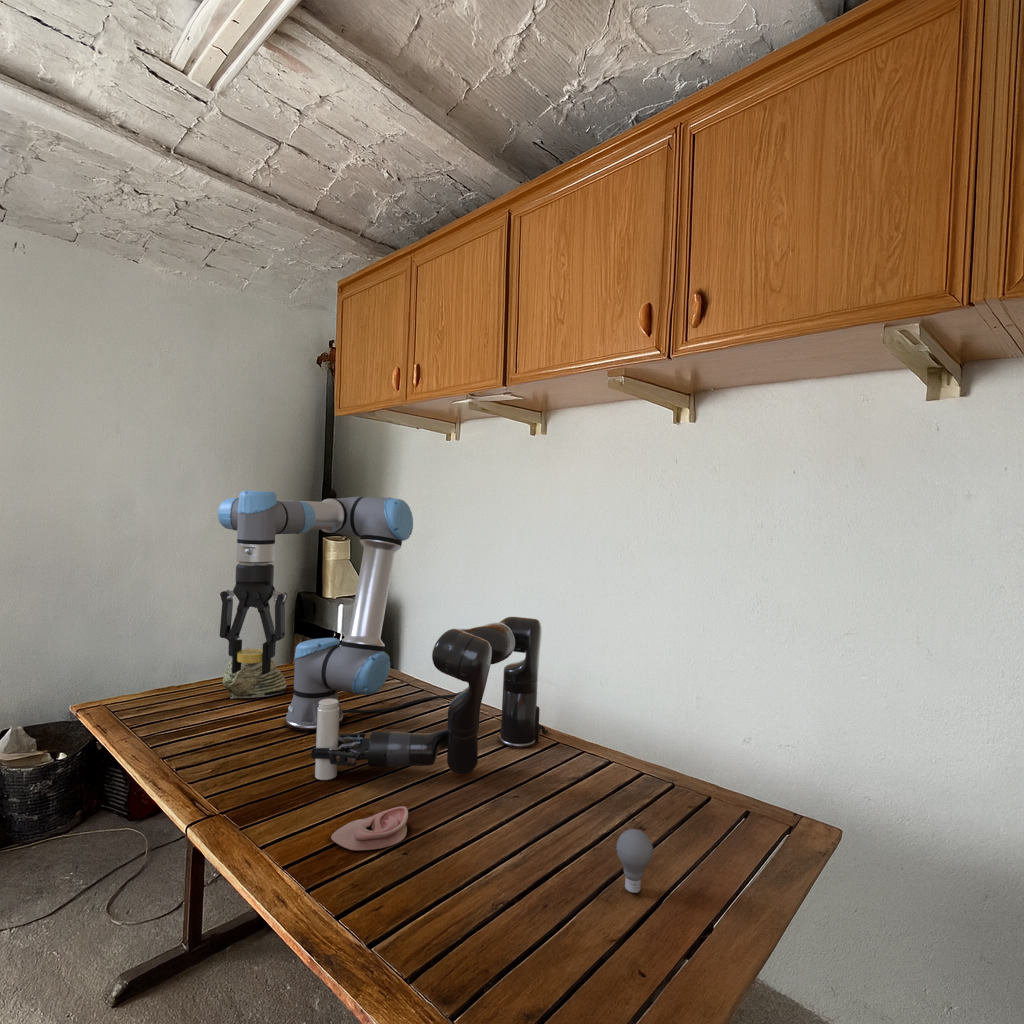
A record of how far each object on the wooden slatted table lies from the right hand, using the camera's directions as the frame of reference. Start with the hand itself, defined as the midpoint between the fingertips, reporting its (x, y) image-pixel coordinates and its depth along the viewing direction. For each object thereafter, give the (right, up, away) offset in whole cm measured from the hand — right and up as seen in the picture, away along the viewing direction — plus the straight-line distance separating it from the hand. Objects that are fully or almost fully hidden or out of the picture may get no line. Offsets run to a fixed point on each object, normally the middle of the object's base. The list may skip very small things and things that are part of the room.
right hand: (315, 748), depth 144 cm
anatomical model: (+18, -7, -24) cm, 31 cm away
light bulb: (+65, -10, -38) cm, 76 cm away
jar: (+2, -6, 0) cm, 7 cm away
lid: (-11, +23, -9) cm, 27 cm away
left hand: (-11, +20, -9) cm, 24 cm away
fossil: (-36, -4, +54) cm, 65 cm away
